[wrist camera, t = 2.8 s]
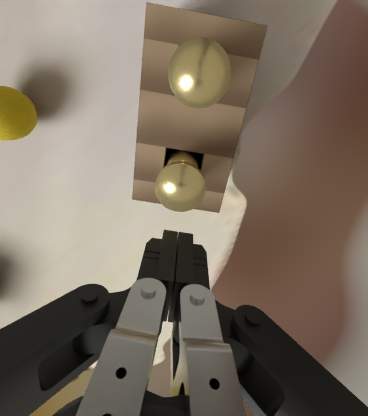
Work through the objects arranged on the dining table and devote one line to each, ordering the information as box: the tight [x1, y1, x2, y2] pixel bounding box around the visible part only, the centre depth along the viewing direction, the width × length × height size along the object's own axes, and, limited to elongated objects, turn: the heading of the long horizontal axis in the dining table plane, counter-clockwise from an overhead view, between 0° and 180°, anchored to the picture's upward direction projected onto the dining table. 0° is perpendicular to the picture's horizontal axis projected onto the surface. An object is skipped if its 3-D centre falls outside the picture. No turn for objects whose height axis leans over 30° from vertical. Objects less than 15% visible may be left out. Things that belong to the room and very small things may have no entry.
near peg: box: [168, 37, 231, 108], centre depth 20 cm, size 4×4×10 cm
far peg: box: [155, 149, 206, 212], centre depth 24 cm, size 4×4×10 cm
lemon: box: [0, 86, 37, 140], centre depth 28 cm, size 6×6×8 cm
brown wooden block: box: [132, 2, 267, 213], centre depth 27 cm, size 16×9×10 cm, turn 171°
